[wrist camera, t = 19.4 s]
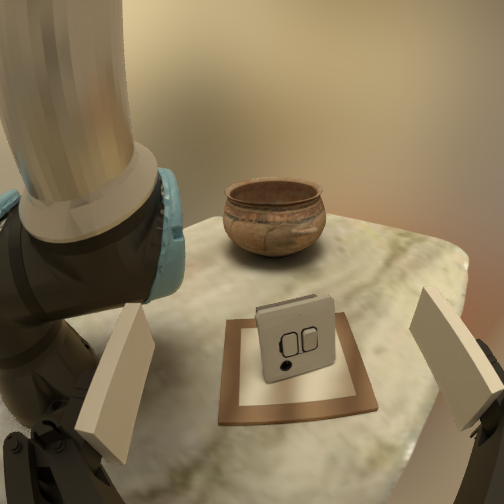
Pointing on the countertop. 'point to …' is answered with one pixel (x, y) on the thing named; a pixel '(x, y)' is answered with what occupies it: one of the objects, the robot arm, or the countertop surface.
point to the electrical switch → (296, 336)
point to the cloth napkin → (290, 382)
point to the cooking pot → (274, 215)
